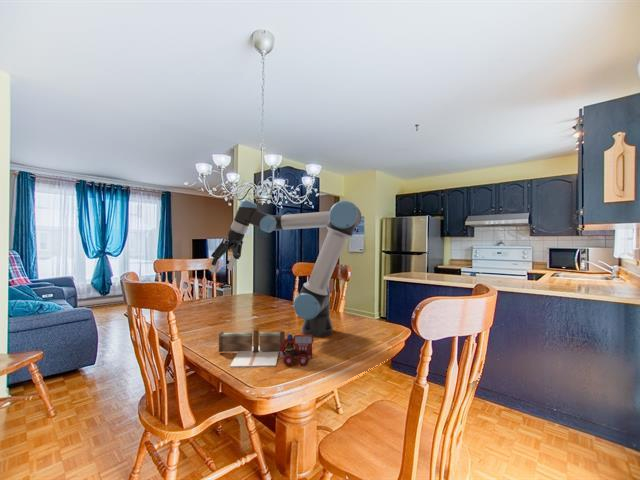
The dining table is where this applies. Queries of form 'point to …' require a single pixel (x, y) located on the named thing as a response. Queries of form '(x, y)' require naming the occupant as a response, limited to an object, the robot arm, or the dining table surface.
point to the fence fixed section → (268, 340)
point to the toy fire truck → (297, 349)
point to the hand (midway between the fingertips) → (220, 270)
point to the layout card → (255, 358)
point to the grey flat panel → (235, 342)
